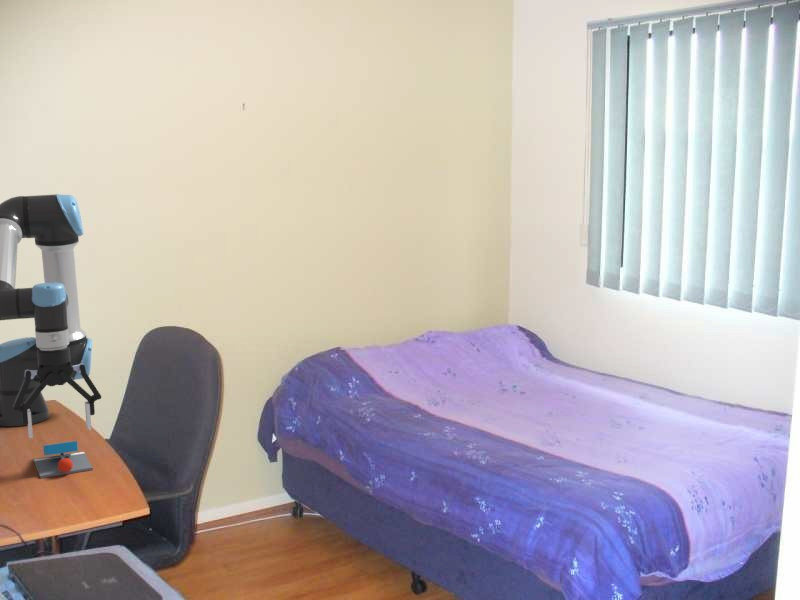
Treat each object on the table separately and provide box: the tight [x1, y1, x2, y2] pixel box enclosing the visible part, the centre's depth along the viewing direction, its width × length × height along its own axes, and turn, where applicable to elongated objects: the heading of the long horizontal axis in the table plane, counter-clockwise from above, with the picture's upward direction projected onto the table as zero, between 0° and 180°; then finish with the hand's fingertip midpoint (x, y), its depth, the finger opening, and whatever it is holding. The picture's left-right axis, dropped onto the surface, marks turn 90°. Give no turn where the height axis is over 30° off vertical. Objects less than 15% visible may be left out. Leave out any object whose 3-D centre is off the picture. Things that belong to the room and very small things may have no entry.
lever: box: [42, 440, 79, 472], centre depth 241 cm, size 7×7×18 cm
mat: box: [33, 451, 94, 479], centre depth 241 cm, size 14×12×1 cm
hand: (60, 432), depth 240 cm, fingers open, 13 cm apart
